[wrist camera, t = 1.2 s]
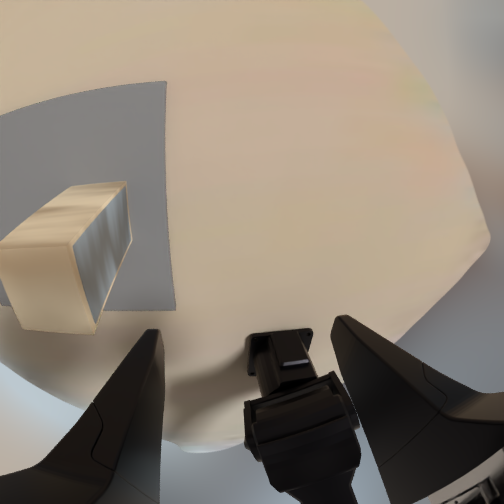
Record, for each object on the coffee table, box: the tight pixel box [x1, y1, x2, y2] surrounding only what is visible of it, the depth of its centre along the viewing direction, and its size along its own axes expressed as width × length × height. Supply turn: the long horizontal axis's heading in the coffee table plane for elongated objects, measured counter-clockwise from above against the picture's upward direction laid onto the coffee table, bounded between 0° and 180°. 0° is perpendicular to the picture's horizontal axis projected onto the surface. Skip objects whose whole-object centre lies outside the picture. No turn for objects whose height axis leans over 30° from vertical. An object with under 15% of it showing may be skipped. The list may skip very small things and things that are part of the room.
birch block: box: [0, 181, 132, 335], centre depth 14 cm, size 4×5×10 cm
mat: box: [0, 81, 176, 311], centre depth 17 cm, size 18×20×1 cm
